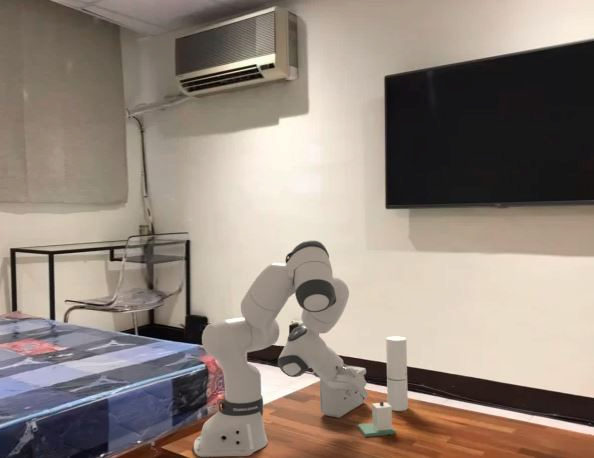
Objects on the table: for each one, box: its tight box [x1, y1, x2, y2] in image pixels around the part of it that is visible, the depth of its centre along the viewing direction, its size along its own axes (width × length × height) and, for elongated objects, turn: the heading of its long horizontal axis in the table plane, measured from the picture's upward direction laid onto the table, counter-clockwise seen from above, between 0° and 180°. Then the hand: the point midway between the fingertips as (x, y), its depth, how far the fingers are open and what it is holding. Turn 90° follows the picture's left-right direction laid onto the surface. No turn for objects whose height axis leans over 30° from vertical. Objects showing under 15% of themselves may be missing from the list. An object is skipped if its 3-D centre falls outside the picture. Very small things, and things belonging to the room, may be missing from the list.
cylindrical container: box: [385, 335, 409, 412], centre depth 197 cm, size 7×7×25 cm
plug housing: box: [371, 400, 393, 430], centre depth 176 cm, size 5×5×8 cm
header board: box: [357, 422, 397, 438], centre depth 176 cm, size 10×8×3 cm
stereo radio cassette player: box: [319, 363, 367, 419], centre depth 197 cm, size 21×8×20 cm, turn 145°
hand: (358, 395), depth 176 cm, fingers open, 8 cm apart
